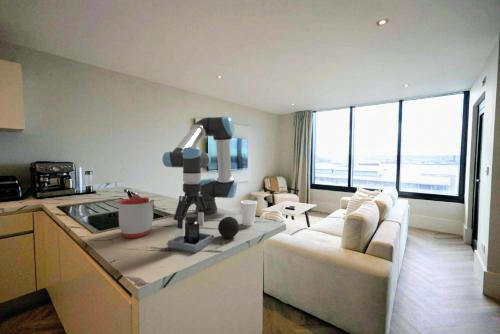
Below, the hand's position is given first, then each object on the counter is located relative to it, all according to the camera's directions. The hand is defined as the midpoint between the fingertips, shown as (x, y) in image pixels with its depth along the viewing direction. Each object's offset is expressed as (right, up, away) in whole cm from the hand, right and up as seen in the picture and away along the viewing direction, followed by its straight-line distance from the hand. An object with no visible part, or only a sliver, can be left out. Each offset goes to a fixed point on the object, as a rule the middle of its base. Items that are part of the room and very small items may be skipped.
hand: (191, 230), depth 96 cm
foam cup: (+25, -5, +30) cm, 39 cm away
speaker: (+15, -6, +9) cm, 19 cm away
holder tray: (0, -6, 0) cm, 6 cm away
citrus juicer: (-30, -5, +12) cm, 33 cm away
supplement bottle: (0, -6, 0) cm, 6 cm away
